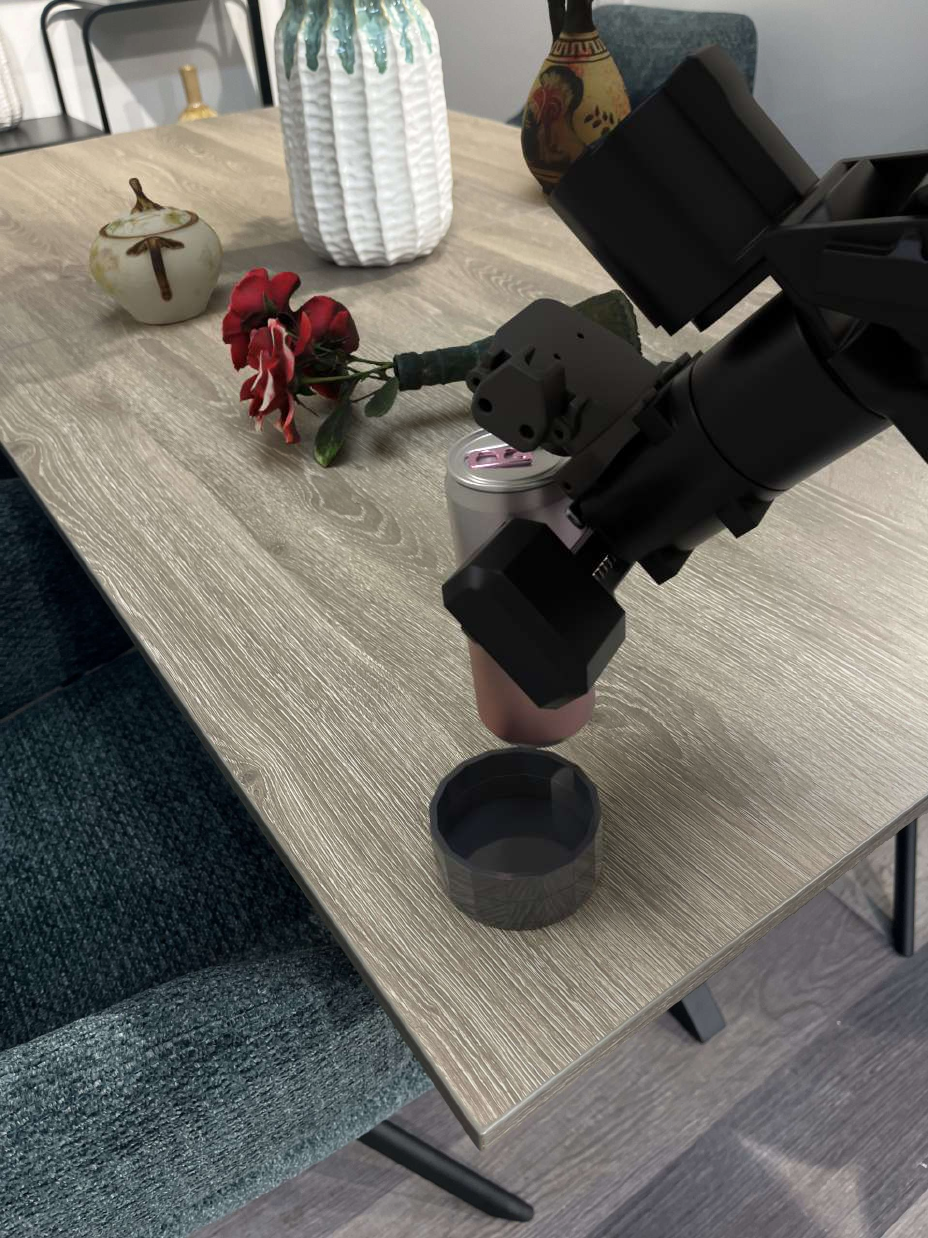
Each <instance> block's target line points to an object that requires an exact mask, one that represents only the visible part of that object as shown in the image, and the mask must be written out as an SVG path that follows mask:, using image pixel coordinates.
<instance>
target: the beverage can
mask: <svg viewBox="0 0 928 1238" xmlns="http://www.w3.org/2000/svg"><path fill="white" fill-rule="evenodd" d="M570 458H571V457H561V456H556V455H554V454H551V453H549V452H547V451H546V450H544V449H542V448H541V447H538V448H537V449H536V450H535V451H532V452H527V453H521V452H519V451H517V450H516V449H514V448H513V447H511V446H509V445H508V444H506V443H505V442H503V441H502V440H500V439H498V438H497V437H495V436H494V435H492V434H491V433H489V432H487V431H486V430H484V429H483V428H481V427H480V428H478V429H475V430H473V431H471V432H469V433H467V434H465V435H463V436H462V437H461V438H459V439H458V440H457V441H455V442H454V443H453V444H452V445H451V446H450V448H448V451H447V453H446V456H445V469H446V472H445V476H444V482H443V486H444V487H443V488H444V494H445V500H446V507H447V512H448V520H449V527H450V532H451V533H450V534H451V539H452V541H451V542H452V546H453V553H454V560H455V565H456V570H457V569H458V568H459V567H460V566H461V565H462V564H463V563H464V562H465V561H466V560H467V559H468V558H469V557H470V556H471V555H472V554H473V553H474V552H475V550H476V549H477V548H479V547H480V546H481V545H482V544H483V543H484V542H485V541H486V540H487V539H488V538H489V537H491V536H492V534H493V533H494V532H495V531H496V530H497V529H498V528H499V527H500V526H501V525H502V524H503V523H504V522H508V521H509V520H510V519H512V518H513V517H514V516H516V517H521V518H525V519H530V520H534V521H539V522H543V523H546V524H547V525H548V526H549V527H550V528H551V529H552V530H553V531H554V533H555V534H556V535H557V536H558V537H559V538H560V539H561V540H562V541H563V543H564V544H565V545H566V546H567V547H568V548H569V549H571V547H572V546H573V545H574V544H575V543H576V541H577V540H578V539H579V538H580V537H581V536H582V534H583V533H584V532H585V531H586V530H587V524H586V527H584V528H583V529H581V530H580V529H578V528H577V527H575V526H574V525H573V524H572V523H571V522H570V520H569V519H568V518H567V517H566V515H565V509H566V508H567V507H568V506H569V505H570V504H571V502H572V501H573V500H572V499H570V498H569V497H568V496H567V495H566V493H565V492H564V491H563V490H562V489H561V488H560V487H559V486H558V485H557V483H556V482H555V481H554V480H553V479H552V478H551V476H552V475H553V474H554V473H555V472H556V471H557V470H558V469H559V468H560V466H562V465H563V464H564V463H565V462H566V461H568V460H569V459H570ZM466 641H467V647H468V652H469V654H468V655H469V660H470V667H471V674H472V681H473V689H474V694H475V702H476V708H477V713H478V717H479V719H480V721H481V723H482V724H483V725H484V727H485V728H486V729H487V730H488V731H489V732H490V733H492V735H494V736H495V737H497V738H498V739H499V740H501V741H502V742H504V743H506V744H508V745H511V746H513V747H523V748H535V749H545V748H549V747H554V746H557V745H560V744H563V743H565V742H567V741H569V740H570V739H572V738H574V737H575V736H576V735H578V733H580V732H581V731H582V730H583V728H584V727H585V726H586V725H587V724H588V722H589V721H590V719H591V718H592V716H593V714H594V713H595V707H596V703H597V701H596V682H595V683H594V685H593V686H592V688H591V689H590V691H589V692H588V693H587V694H586V695H584V696H582V697H580V698H578V699H576V700H574V701H572V702H570V703H568V704H567V705H565V706H563V707H561V708H559V709H557V710H551V709H539V708H538V707H537V706H536V705H535V704H534V703H533V702H532V700H531V699H530V698H529V697H528V696H527V695H526V694H525V693H524V692H523V691H522V690H521V689H520V688H519V686H518V685H517V684H516V683H515V682H514V681H513V680H512V679H511V678H510V677H509V676H508V675H507V674H506V672H505V671H504V670H503V669H502V668H501V667H500V666H499V665H498V664H497V663H496V662H495V661H494V660H493V658H492V657H491V656H490V655H489V654H488V653H487V652H486V651H485V650H484V649H483V648H482V647H481V646H480V645H477V644H475V643H473V642H472V641H471V640H470V639H469V638H468V637H467V636H466Z"/></svg>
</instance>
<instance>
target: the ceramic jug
mask: <svg viewBox="0 0 928 1238" xmlns="http://www.w3.org/2000/svg"><path fill="white" fill-rule="evenodd" d="M546 1H547V7H548V18H549V24H550V31H551V37H552V41H551V42H552V43H551V47H550V50H549V53H548V54H547V57H546V58H544V59H543V62H542V64H541V66H540V69H539V70H538V73H537V74H536V76H535V79H534V81H533V83H532V85H531V88H530V90H529V93H528V95H527V99H526V102H525V106H524V110H523V115H522V116H523V117H522V120H521V129H520V130H521V132H520V146H521V151H522V157H523V159H524V162H525V164H526V166H527V168H528V170H529V172H530V174H531V175H532V176H533V177H534V179H535V180H536V181H537V183H538V184H539V185H540V187H541V189H542V190H541V194H542V198H543V199H544V200H546V201H547V200H548V197H549V195H550V193H551V191H552V190H553V188H554V187H555V185H556V184H557V183H558V181H559V180H560V178H561V177H562V176H563V175H564V173H565V172H566V171H567V170H568V168H569V167H570V166H571V165H572V163H573V162H574V161H575V160H576V159H577V158H578V156H579V155H580V154H581V153H582V152H583V151H584V150H585V148H586V147H587V146H588V145H590V144H591V143H592V142H593V141H595V140H596V139H598V138H600V137H601V136H603V135H605V134H606V133H608V132H609V131H611V130H613V129H614V128H615V127H616V126H617V125H618V124H619V123H620V122H621V121H622V120H623V119H624V118H625V117H626V116H627V115H628V114H629V113H630V112H631V111H632V104H631V100H630V98H629V97H630V96H629V94H628V93H629V92H628V89H627V86H626V84H625V82H624V79H623V76H622V75H621V73H620V71H619V68H618V66H617V65H616V63H615V61H614V59H613V57H612V55H611V52H610V51H609V49H608V47H607V46H606V45H605V43H604V40H602V38H601V36H600V33H599V32H598V29H597V28H596V26H595V24H594V21H593V2H594V1H595V0H546Z"/></svg>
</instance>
